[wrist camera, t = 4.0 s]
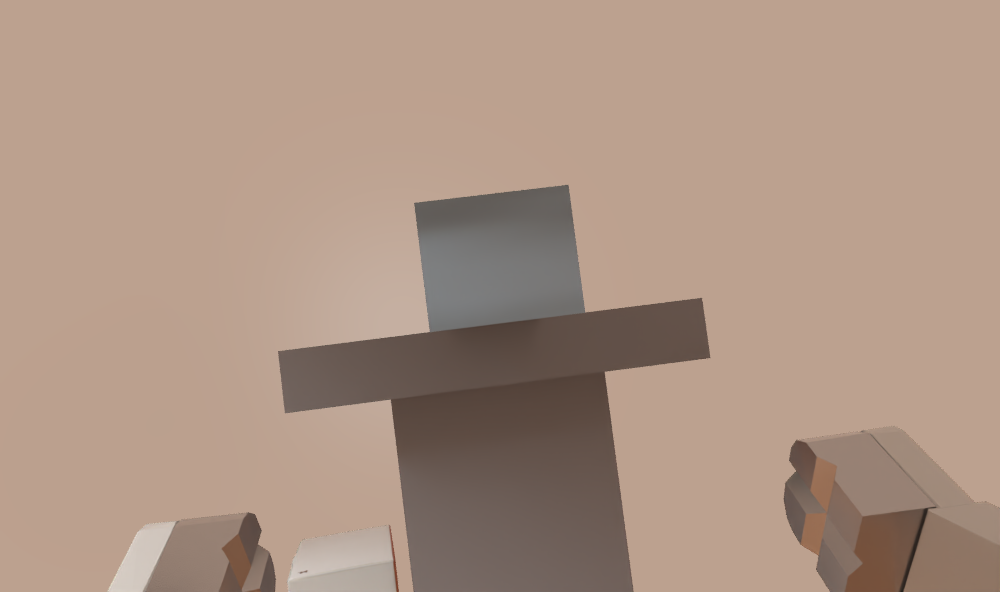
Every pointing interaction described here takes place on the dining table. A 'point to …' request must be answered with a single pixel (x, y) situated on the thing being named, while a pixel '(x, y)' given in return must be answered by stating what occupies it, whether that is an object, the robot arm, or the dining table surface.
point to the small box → (345, 563)
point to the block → (499, 258)
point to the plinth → (505, 439)
